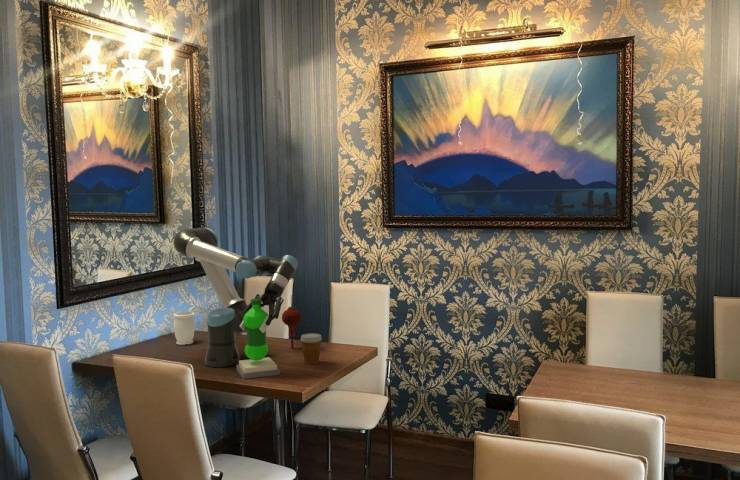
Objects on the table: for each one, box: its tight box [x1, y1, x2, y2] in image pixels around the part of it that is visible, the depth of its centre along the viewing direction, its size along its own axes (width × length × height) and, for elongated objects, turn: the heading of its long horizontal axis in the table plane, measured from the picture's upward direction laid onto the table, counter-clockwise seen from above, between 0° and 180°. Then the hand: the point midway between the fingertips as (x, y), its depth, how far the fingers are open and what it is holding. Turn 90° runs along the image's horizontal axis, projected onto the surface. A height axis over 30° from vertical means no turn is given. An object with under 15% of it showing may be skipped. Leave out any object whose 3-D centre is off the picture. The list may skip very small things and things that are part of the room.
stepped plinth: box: [235, 356, 281, 380], centre depth 262 cm, size 15×15×4 cm
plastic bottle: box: [243, 298, 269, 361], centre depth 260 cm, size 10×10×25 cm
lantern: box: [281, 296, 302, 350], centre depth 300 cm, size 10×10×30 cm
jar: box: [172, 311, 196, 346], centre depth 314 cm, size 11×10×15 cm
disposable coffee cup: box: [299, 333, 323, 365], centre depth 275 cm, size 10×10×12 cm
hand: (251, 329), depth 258 cm, fingers closed on plastic bottle, 10 cm apart
